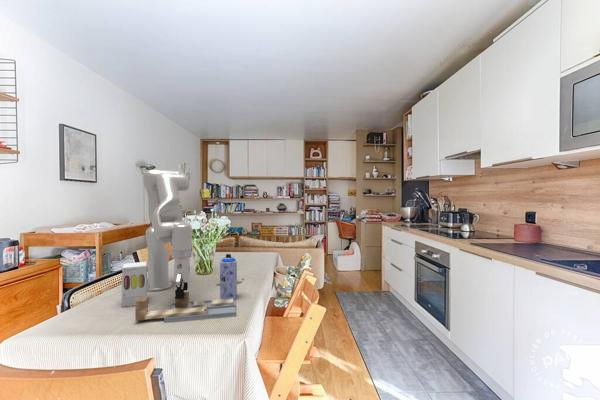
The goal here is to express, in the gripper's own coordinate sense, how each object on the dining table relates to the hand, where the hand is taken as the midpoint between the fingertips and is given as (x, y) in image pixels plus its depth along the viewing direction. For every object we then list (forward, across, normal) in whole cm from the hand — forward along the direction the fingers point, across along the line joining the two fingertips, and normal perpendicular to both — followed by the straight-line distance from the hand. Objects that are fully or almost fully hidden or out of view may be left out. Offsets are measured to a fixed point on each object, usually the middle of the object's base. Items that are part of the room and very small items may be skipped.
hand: (181, 294), depth 120 cm
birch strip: (+5, -9, +2) cm, 10 cm away
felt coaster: (+6, -1, 0) cm, 6 cm away
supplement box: (+7, +12, +21) cm, 25 cm away
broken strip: (+6, -1, -13) cm, 14 cm away
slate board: (+6, -5, -9) cm, 12 cm away
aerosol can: (+6, +9, -19) cm, 22 cm away
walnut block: (+4, -1, 0) cm, 5 cm away
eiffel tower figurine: (+7, +34, -20) cm, 40 cm away
